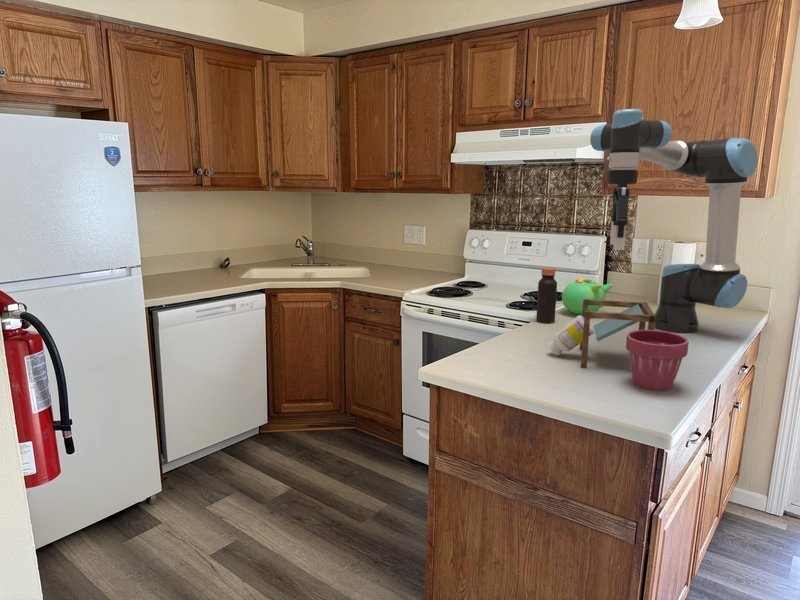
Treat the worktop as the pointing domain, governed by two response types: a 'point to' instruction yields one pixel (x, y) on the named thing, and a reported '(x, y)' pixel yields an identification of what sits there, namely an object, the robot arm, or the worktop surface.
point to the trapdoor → (615, 324)
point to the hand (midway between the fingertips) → (616, 247)
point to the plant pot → (655, 357)
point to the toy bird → (583, 294)
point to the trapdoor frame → (642, 319)
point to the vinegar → (546, 296)
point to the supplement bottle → (569, 336)
